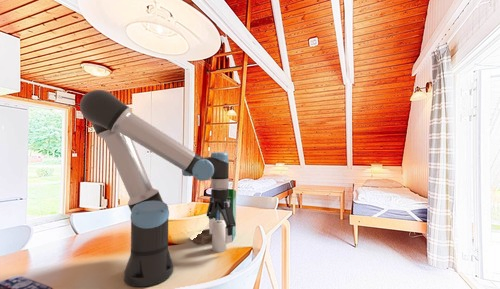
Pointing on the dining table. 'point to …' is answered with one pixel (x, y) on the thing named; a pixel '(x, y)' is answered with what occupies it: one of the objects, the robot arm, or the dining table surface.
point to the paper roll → (218, 236)
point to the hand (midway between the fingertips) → (220, 237)
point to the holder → (203, 237)
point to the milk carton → (233, 205)
